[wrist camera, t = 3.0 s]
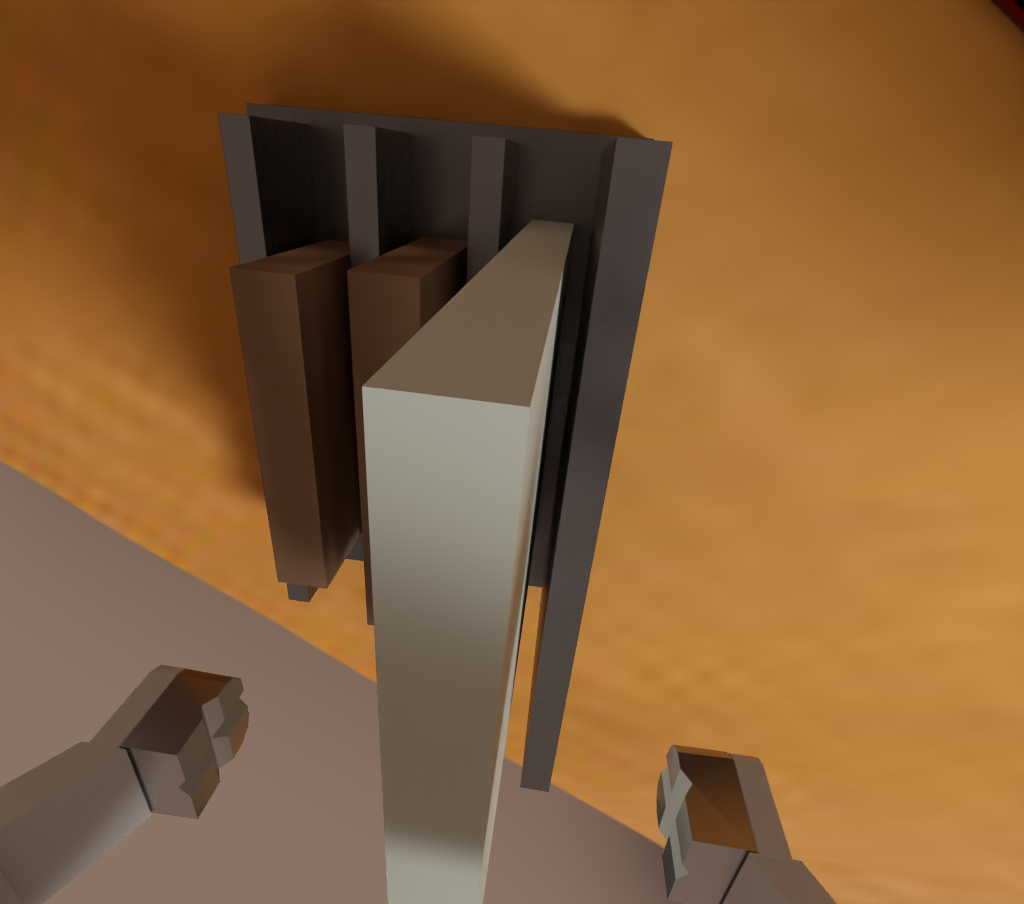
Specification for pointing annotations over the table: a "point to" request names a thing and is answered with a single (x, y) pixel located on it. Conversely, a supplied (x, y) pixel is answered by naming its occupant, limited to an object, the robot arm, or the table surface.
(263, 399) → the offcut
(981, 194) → the table surface
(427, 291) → the block
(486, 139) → the rack
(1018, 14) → the smartphone
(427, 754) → the white thin panel
